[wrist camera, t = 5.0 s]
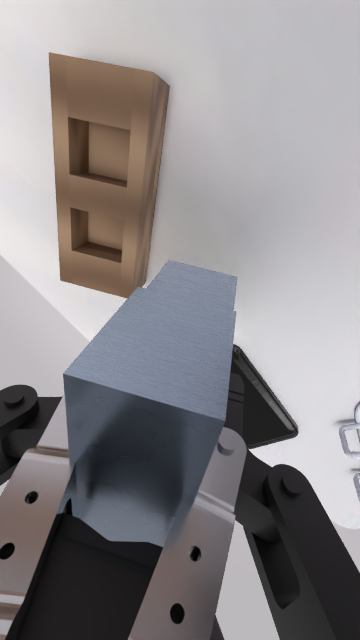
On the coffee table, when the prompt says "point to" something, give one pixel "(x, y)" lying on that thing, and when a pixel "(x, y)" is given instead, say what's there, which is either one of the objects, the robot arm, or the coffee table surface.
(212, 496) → the robot arm
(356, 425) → the silver thin wire frame
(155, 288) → the brushed steel block
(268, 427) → the phone
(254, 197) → the coffee table surface
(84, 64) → the two-pocket wooden block
